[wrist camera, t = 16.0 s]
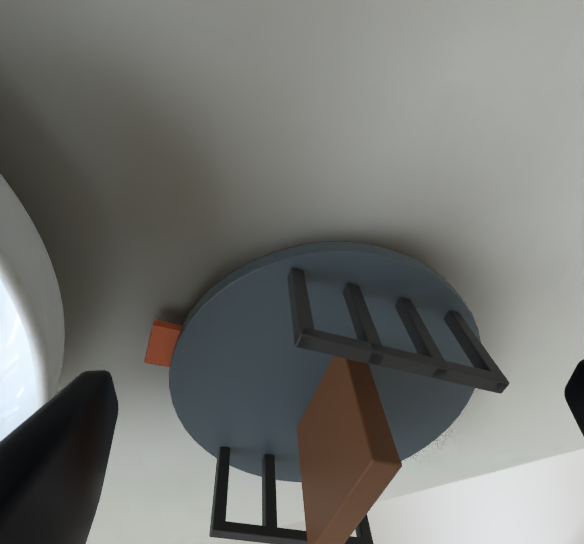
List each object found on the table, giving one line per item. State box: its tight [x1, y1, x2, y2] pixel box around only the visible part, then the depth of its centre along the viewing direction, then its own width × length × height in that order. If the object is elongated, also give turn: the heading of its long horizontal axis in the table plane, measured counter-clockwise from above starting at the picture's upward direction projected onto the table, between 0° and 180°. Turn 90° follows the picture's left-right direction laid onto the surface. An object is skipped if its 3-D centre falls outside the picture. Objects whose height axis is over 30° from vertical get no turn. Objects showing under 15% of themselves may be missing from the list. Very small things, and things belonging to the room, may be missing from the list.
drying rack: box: [145, 242, 509, 544], centre depth 19 cm, size 17×16×7 cm
